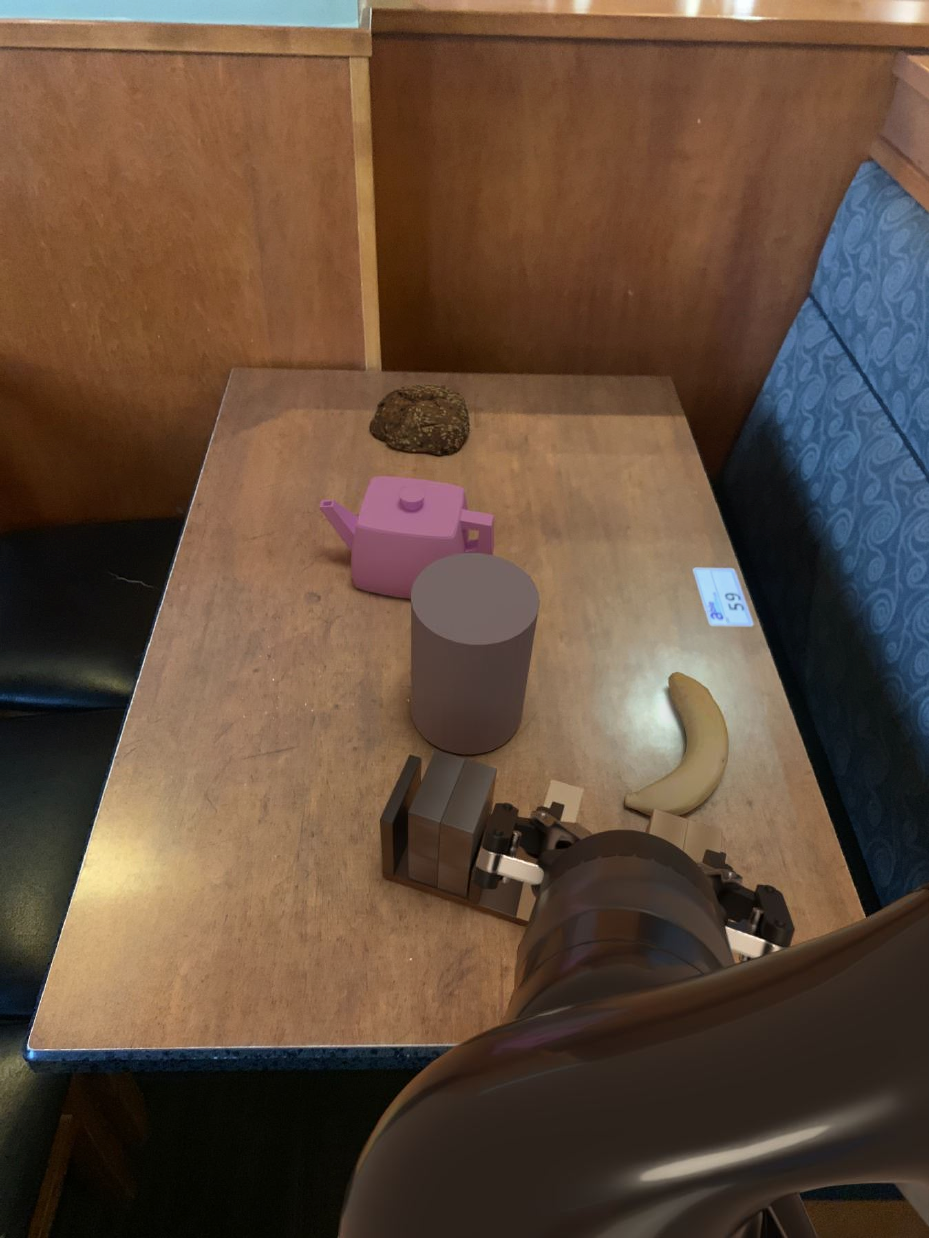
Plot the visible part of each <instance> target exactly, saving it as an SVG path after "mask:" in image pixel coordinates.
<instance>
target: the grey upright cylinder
mask: <svg viewBox="0 0 929 1238" xmlns="http://www.w3.org/2000/svg"><path fill="white" fill-rule="evenodd" d="M539 593H540V592H539V590H538V588H537V585H536V583H535V582H534V580H533V579H532V578H531V576H530V575H529V574H528V573H527V572H526V571H525V570H524V569H523V568H521V567H520V566H519V565H517V564H515V563H514V562H512V561H510V560H507V559H505V558H503V557H500V556H496V555H494V554H493V555H488V554H482V553H463V554H455V555H451V556H447V557H444V558H442V559H439V560H437V561H435V562H433V563H432V564H430V565H429V566H427V567H426V568H425V569H424V570H423V571H422V572H421V573H420V574H419V575H418V577H417V578H416V580H415V581H414V584H413V587H412V590H411V599H410V714H411V717H412V718H411V719H412V722H413V724H414V726H415V728H416V730H417V731H418V733H420V735H421V736H422V737H423V738H424V739H425V740H426V741H428V742H429V743H430V744H431V745H433V746H435V747H437V748H439V749H441V750H444V751H447V752H448V753H452V754H459V755H477V754H485V753H488V752H490V751H493V750H496V749H497V748H499V747H501V746H503V745H505V744H506V743H507V742H508V741H509V740H511V739H512V738H513V736H514V735H515V733H516V732H517V731H518V729H519V726H520V724H521V722H522V716H523V712H524V711H523V710H524V703H525V697H526V691H527V686H528V679H529V673H530V666H531V661H532V654H533V647H534V641H535V635H536V629H537V628H536V627H537V624H538V623H537V622H538V616H539V610H540V603H541V600H540V594H539Z"/></svg>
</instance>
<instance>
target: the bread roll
mask: <svg viewBox="0 0 929 1238" xmlns="http://www.w3.org/2000/svg"><path fill="white" fill-rule="evenodd" d="M470 427H471V422H470V416H469V410H468V408H467V405H466V400H465V398H464V397H462V396H461V394H460V393H459V391H457V390H456V391H455V390H453V389H452V388H450V387H446V386H445V385H440V384H435V383H432V384H415V385H408V386H402V387H400V388H397V389H393V390H391V391H390V392H388V393H387V394H386V395H385V396H384V397H382V399H380V401H379V403H378V404H377V406H376V412H374V417H373V418H372V419H371V420H370V422H369V425H368V428H369V430H370V432H371V433H372V435H374V436H375V437H376V438H377V439H378V440H380V441H386V443H387V444H388V446H390V447H391V448H393V449H396V450H401V451H404V452H408V453H409V452H410V453H429V454H433V455H435V456H444V455H449V454H452V453H454V452H457V451H458V450H459V449H460V448H461V447H462V446H463V444H464V442H465V441H466V439H467V438H468V436H469V434H470V431H471V428H470Z"/></svg>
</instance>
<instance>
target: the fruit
mask: <svg viewBox="0 0 929 1238" xmlns="http://www.w3.org/2000/svg"><path fill="white" fill-rule="evenodd" d="M667 683H668V688H669V692H670V696H671V698H672V701H673V703H674V706H675V708H676V710H677V712H678V714H679V717H680V719H681V721H682V723H683V726H684V730H685V735H686V749H685V753H684V756H683V758H682V760H681V761H680V763H679V764H677V766H676V768H674V770H672V771H671V772H670V773H668V774H667V775H665V776H663V777H662V778H660V779H657V780H655V781H654V782H652V783H649V784H648V785H647V786H645V787H643V788H641V789H640V790H638V791H635V792H630V793H629V792H628V793H627V792H626V794H625V796H624V805H625V807H627V808H629V809H632V810H636V811H638V812H640V813H642V814H644V815H646V816H649V817H651V815H652V813H653V810H654V809H657V810H660V811H663V812H666V813H670V814H673V815H676V816H679V817H680V816H681V815H684V814H686V813H689V812H691V811H692V810H694V809H695V808H697V807H698V806H700V805H701V804H702V803H703V802H705V801H706V800H707V799H708V798H709V797H710V796H711V795H712V793H714V791H715V790H716V788H717V786H718V785H719V784H720V782H721V780H722V778H723V777H724V774H725V771H726V769H727V765H728V760H729V751H730V743H729V741H730V740H729V732H728V727H727V723H726V720H725V717H724V714H723V712H722V710H721V708H720V706H719V705H718V703H717V702H716V700H715V698H714V697H713V696H712V694H711V692H710V689H708V687H706V686H705V685H703V684H702V683H701V682H700V681H698V680H696V679H695V678H693V677H691V676H688V675H687V674H685V673H682V672H680V671H675V672H672V673H671V674H670V675H669V677H668V681H667Z"/></svg>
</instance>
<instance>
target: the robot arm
mask: <svg viewBox="0 0 929 1238" xmlns="http://www.w3.org/2000/svg"><path fill="white" fill-rule="evenodd" d="M496 803H497V804H496ZM496 803H495V804H496V805H495V804H494V807H495V808H494V807H493V809H494V810H493V809H492V811H491V817H490V819H489V821H488V824H487V826H486V828H485V832H484V836H483V839H482V843H481V847H480V850H479V854H478V858H477V862H476V865H475V869H474V873H473V877H472V882H473V883H474V884H476V885H477V886H479V887H481V888H483V889H496V888H497V887H498V883H499V881H500V882H502V883H505V884H507V883H509V881H510V878H512V879H515V880H518V881H522V882H525V883H528V884H531V890H532V893H533V895H534V896H535V897H536V901H535V904H534V906H533V909H532V912H531V915H530V918H529V921H528V924H527V926H526V927H525V929H524V933H523V934H522V938H521V940H520V942H519V944H518V946H517V952H516V961H515V967H514V979H513V990H512V992H511V995H510V999H509V1002H508V1005H507V1009H506V1011H505V1013H504V1015H503V1019H502V1022H501V1024H500V1023H499V1024H498V1025H495V1026H494V1027H493V1026H492V1027H491V1028H488V1029H486V1030H484V1031H482V1032H479V1033H477V1034H475V1035H473V1036H471V1037H470V1038H467V1039H465V1040H464V1041H462V1042H461V1043H459V1044H456V1045H455V1046H454V1047H452V1048H450V1049H449V1050H448V1051H446V1052H444V1054H441V1056H439V1057H438V1058H436V1059H435V1060H433V1061H432V1062H430V1063H429V1064H428V1065H427V1066H426V1067H425V1068H424V1069H423V1070H421V1071H420V1072H419V1073H417V1075H416V1076H414V1078H412V1079H411V1080H410V1082H409V1083H407V1085H406V1086H405V1087H403V1089H402V1090H401V1091H400V1092H398V1094H397V1096H396V1097H395V1098H394V1099H393V1101H392V1102H391V1103H390V1104H389V1105H388V1107H387V1108H386V1109H385V1111H384V1112H383V1113H382V1115H381V1116H380V1118H379V1120H378V1121H377V1123H376V1124H375V1126H374V1128H373V1129H372V1131H371V1133H370V1135H369V1136H368V1138H367V1140H366V1141H365V1143H364V1144H363V1146H362V1149H361V1151H360V1152H359V1154H358V1156H357V1160H356V1162H355V1164H354V1167H353V1170H352V1172H351V1174H350V1178H349V1180H348V1182H347V1185H346V1188H345V1193H344V1196H343V1201H342V1205H341V1211H340V1215H339V1221H338V1230H337V1231H338V1232H337V1238H819V1236H818V1234H817V1231H816V1229H815V1227H814V1225H813V1223H812V1219H811V1218H810V1216H809V1213H808V1210H807V1209H806V1206H805V1204H804V1201H803V1200H802V1197H801V1195H800V1193H805V1192H809V1191H814V1190H818V1189H821V1188H822V1189H823V1188H828V1187H835V1186H844V1185H864V1184H866V1185H867V1184H893V1185H894V1186H895V1187H896V1189H898V1191H899V1193H900V1194H901V1195H902V1197H904V1198H905V1200H906V1201H907V1202H908V1203H909V1205H910V1206H911V1207H912V1209H914V1211H915V1212H916V1214H917V1215H918V1216H919V1217H920V1218H921V1220H922V1221H923V1222H924V1223H925V1224H926V1226H927V1227H928V1228H929V880H928V881H926V882H924V883H923V884H921V885H920V886H917V888H915V889H914V890H912V891H910V892H907V893H906V894H904V895H903V896H901V897H899V898H898V899H896V900H895V901H893V902H891V903H889V904H888V905H886V906H884V907H883V908H881V909H880V910H878V911H876V912H874V913H872V914H870V915H869V916H867V917H864V918H862V919H860V920H858V921H856V922H853V923H850V924H848V925H846V926H843V927H841V928H838V929H834V930H832V931H830V932H828V933H824V934H823V935H819V936H817V937H813V938H811V939H808V940H805V941H802V942H799V943H796V944H794V945H793V944H792V940H793V938H794V933H795V930H796V928H795V925H794V922H793V919H792V917H791V914H790V911H789V907H788V905H787V903H786V900H785V898H784V895H783V893H782V892H781V891H780V890H778V889H777V888H776V887H774V886H773V885H770V884H756V886H755V890H752V889H750V888H748V887H745V886H744V885H742V883H743V879H744V878H743V876H742V875H741V874H738V873H737V872H736V871H735V870H734V869H733V866H731V865H729V863H726V862H725V863H723V861H722V858H721V855H720V853H718V852H715V851H712V850H708V849H706V851H705V853H704V857H703V860H702V862H700V861H694V860H693V859H692V858H691V857H690V856H688V855H687V854H686V853H685V852H684V851H682V850H681V849H680V848H678V847H677V846H675V845H674V844H672V843H670V842H668V841H667V840H665V839H662V838H660V837H658V836H655V835H652V834H649V833H645V831H641V830H634V829H610V830H604V831H601V832H596V833H593V832H592V831H590V829H587V828H586V827H585V826H584V825H582V824H580V823H578V822H576V823H574V822H565V821H561V818H562V814H563V810H564V806H565V805H564V804H561V803H557V802H554V801H553V802H552V804H551V806H550V808H547V807H544V806H543V805H540V806H537V807H536V809H535V810H532V811H531V813H530V817H524V816H519V812H520V810H519V808H518V807H516V806H514V805H513V804H512V803H510V802H509V803H508V802H496ZM791 944H792V945H791ZM734 953H736V954H738V960H739V962H736V959H735V955H734Z"/></svg>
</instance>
